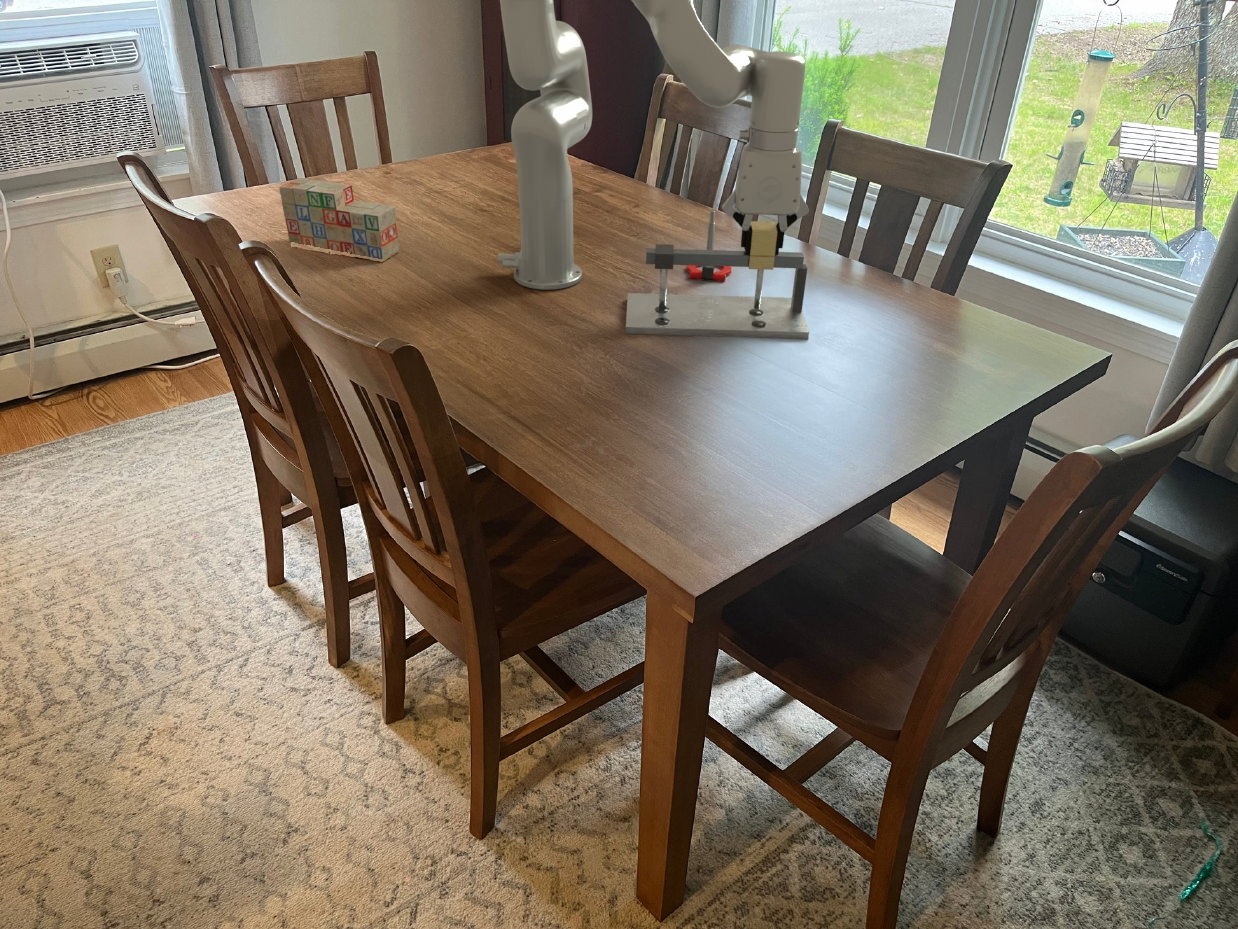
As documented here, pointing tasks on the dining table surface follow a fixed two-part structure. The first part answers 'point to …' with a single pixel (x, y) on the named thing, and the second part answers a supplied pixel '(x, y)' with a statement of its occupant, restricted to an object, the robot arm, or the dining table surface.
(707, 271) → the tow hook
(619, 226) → the dining table surface
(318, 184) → the stack of blocks
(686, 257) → the beam
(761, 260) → the carriage
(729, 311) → the hole plate
